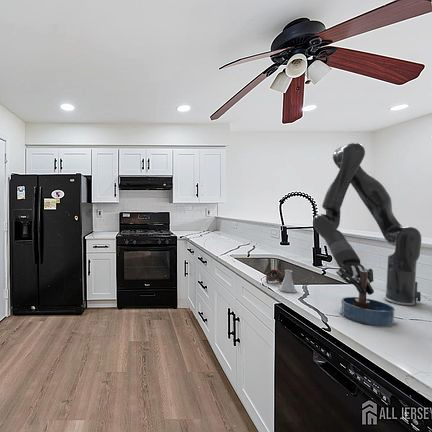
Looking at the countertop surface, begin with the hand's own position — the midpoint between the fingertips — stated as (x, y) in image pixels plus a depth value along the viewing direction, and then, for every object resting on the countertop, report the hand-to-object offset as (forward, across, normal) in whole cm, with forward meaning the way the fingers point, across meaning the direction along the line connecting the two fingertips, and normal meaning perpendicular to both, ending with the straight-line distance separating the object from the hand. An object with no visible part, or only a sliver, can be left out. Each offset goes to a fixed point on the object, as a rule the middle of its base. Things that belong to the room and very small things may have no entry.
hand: (367, 293), depth 102 cm
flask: (-17, -9, +32) cm, 38 cm away
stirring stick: (+3, 0, +6) cm, 7 cm away
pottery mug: (-27, -8, +42) cm, 50 cm away
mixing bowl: (+6, +2, +8) cm, 10 cm away
